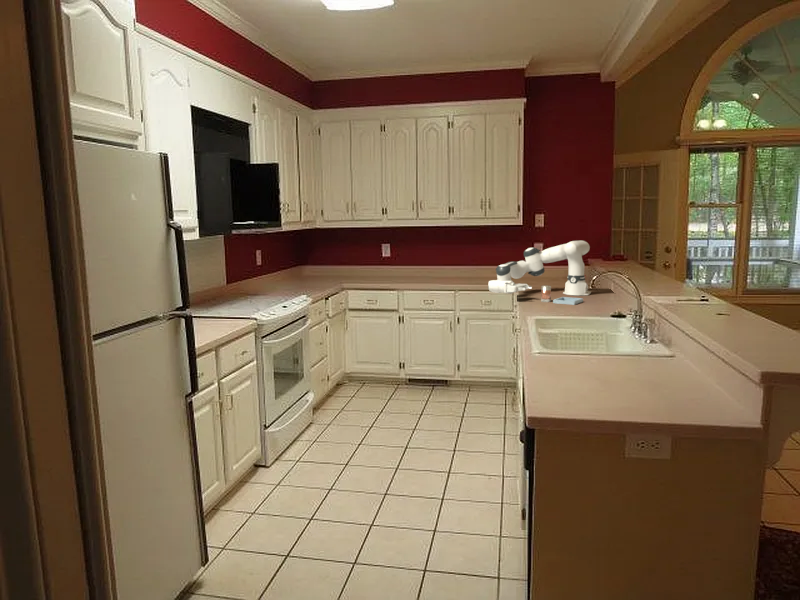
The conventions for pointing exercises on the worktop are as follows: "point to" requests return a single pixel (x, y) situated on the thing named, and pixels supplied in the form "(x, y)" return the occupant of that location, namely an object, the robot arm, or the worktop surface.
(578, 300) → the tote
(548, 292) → the clear glass cup
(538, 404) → the worktop surface
